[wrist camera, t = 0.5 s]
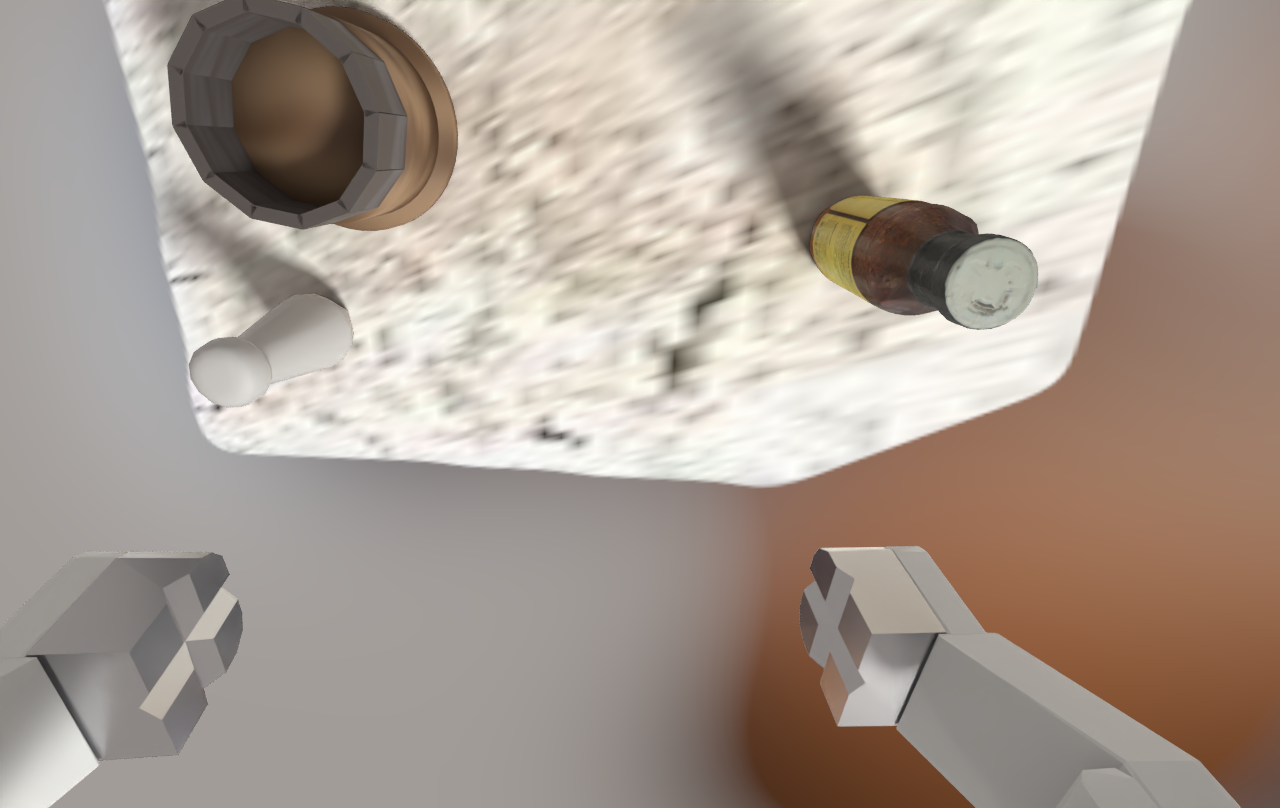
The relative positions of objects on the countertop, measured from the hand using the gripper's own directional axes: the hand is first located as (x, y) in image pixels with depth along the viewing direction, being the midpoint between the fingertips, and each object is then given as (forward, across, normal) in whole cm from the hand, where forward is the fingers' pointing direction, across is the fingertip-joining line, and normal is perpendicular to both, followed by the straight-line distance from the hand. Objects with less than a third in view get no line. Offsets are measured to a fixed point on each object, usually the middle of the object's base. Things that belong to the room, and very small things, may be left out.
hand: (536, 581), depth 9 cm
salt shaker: (+41, +19, +13) cm, 47 cm away
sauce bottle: (+37, -21, +3) cm, 42 cm away
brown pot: (+42, +15, -2) cm, 45 cm away
